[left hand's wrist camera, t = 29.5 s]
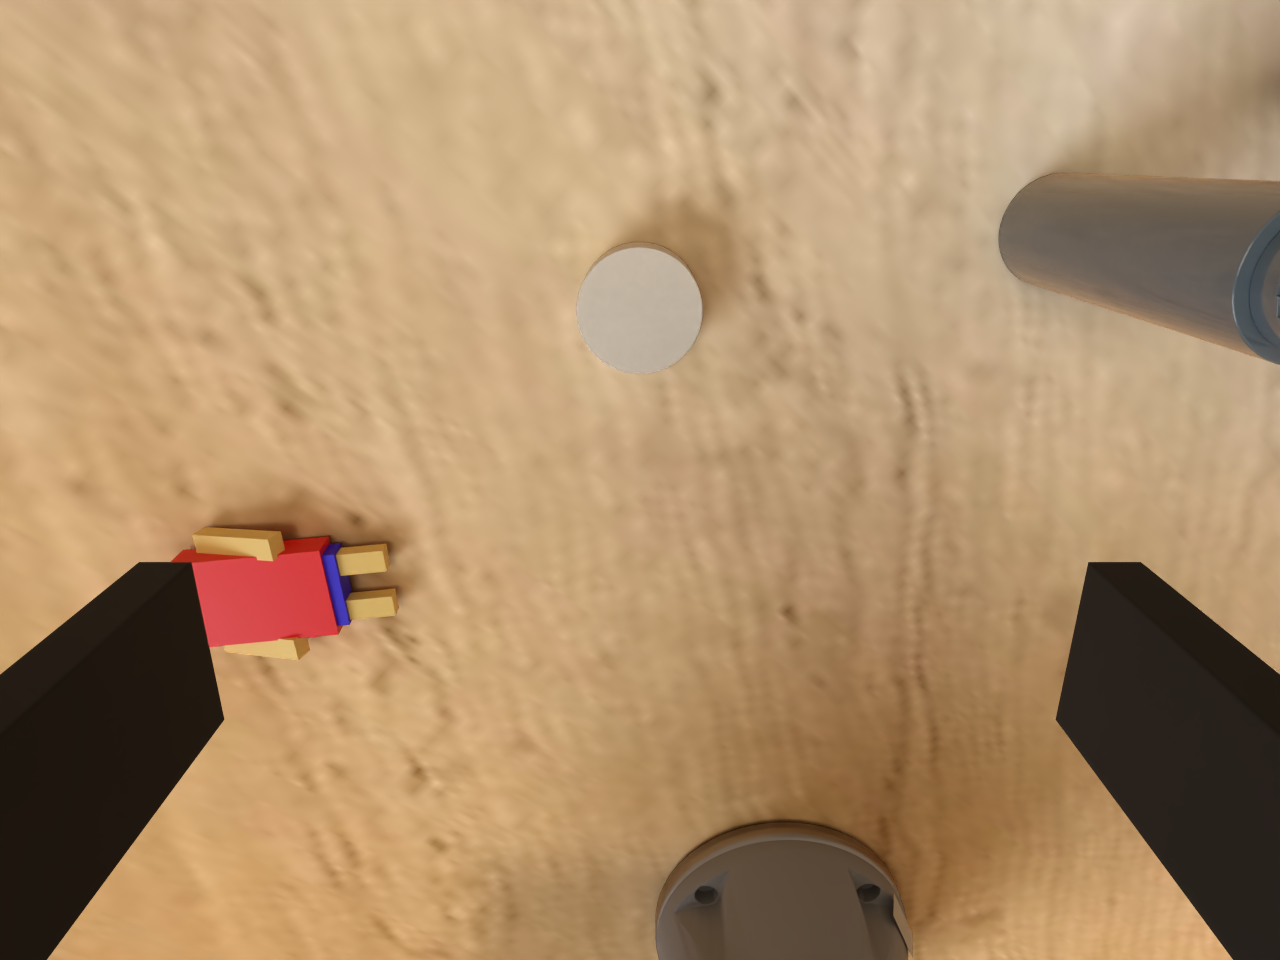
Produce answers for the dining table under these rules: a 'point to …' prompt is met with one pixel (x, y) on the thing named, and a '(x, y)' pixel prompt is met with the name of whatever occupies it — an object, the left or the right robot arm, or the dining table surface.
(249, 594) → the toy figure
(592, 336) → the lid
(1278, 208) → the grey cylinder
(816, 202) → the dining table surface
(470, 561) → the dining table surface
